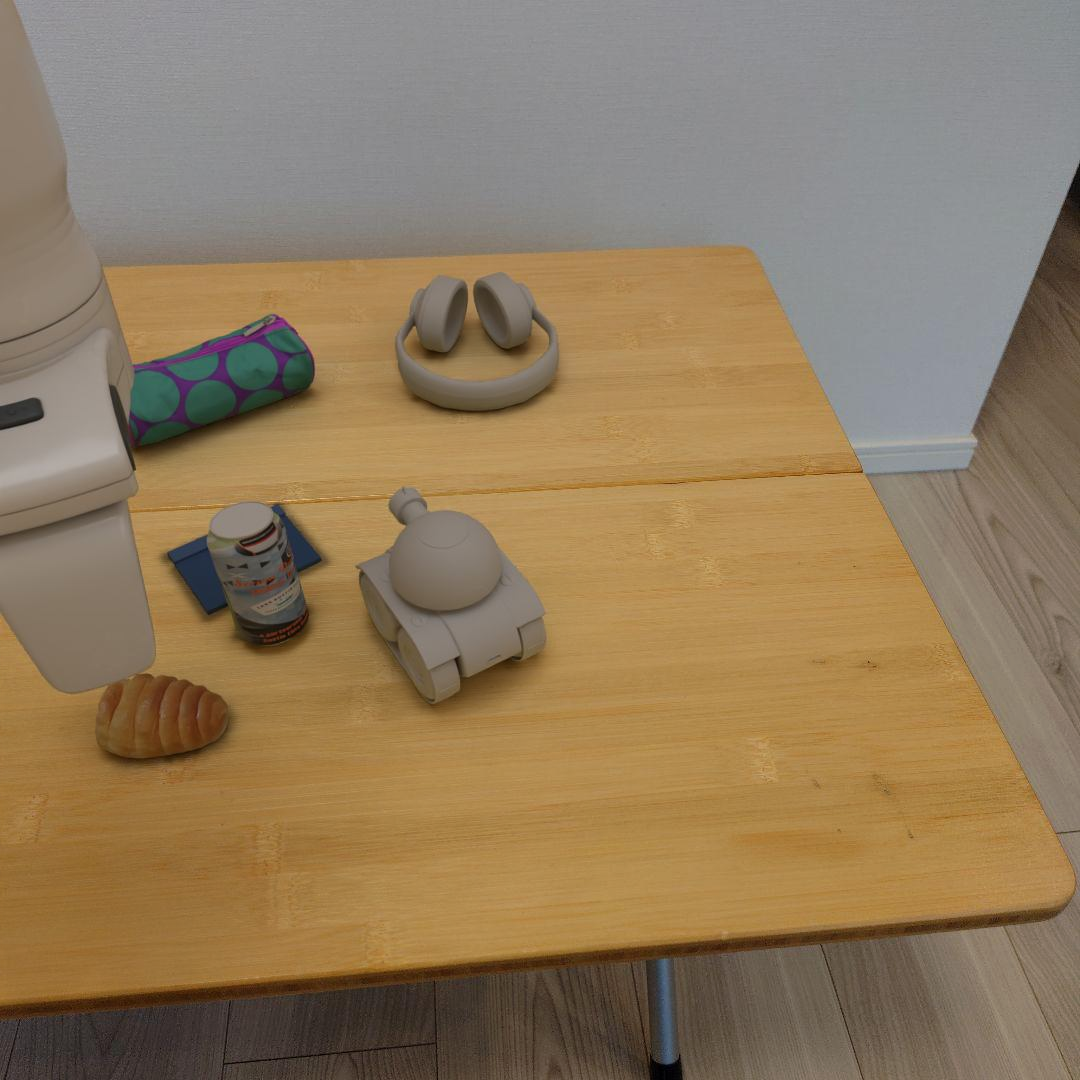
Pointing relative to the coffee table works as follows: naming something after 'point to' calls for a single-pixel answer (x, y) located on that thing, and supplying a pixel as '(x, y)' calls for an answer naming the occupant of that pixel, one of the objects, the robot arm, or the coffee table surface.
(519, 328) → the headphones
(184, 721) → the pastry
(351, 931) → the coffee table surface
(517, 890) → the coffee table surface
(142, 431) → the pencil case
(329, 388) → the coffee table surface
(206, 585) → the book
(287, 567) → the beverage can
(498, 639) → the toy tank
